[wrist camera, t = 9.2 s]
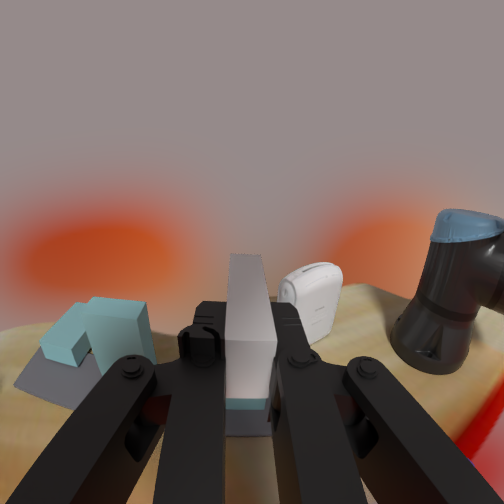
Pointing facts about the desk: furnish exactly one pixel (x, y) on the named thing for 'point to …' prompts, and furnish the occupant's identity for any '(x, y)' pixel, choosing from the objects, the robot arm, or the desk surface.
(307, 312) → the photo printer
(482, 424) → the desk surface
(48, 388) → the mat
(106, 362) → the tile
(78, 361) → the tile
